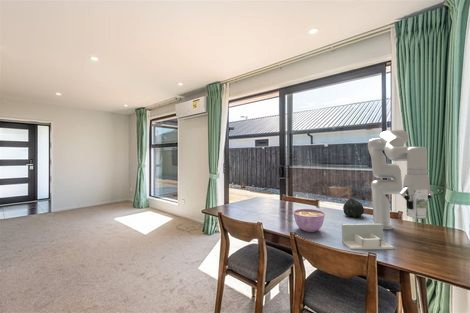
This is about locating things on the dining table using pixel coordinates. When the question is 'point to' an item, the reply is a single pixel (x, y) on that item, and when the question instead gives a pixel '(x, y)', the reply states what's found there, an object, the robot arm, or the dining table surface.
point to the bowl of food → (309, 219)
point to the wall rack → (364, 236)
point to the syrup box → (419, 204)
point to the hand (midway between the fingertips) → (416, 208)
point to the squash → (353, 208)
